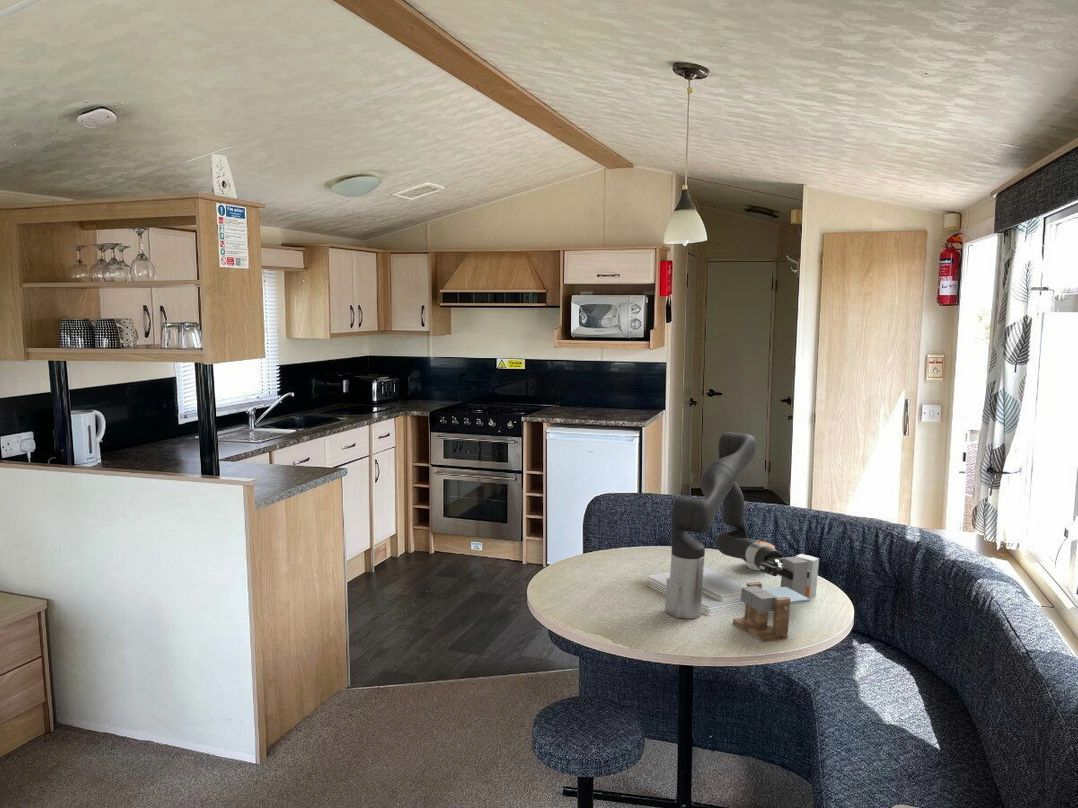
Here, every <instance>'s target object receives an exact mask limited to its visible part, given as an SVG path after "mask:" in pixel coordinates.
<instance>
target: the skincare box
mask: <svg viewBox="0 0 1078 808" xmlns="http://www.w3.org/2000/svg"><path fill="white" fill-rule="evenodd" d="M794 557H799V558H801V559H803V560H805V561H808V571H809V572H810V574H809V578H807V582H806V593H805V595H803V596H805V597H807V598H809V599H810V600H811V598H813V597H816V595H817V586H818V574H819V566H820V565H819V564H820V558H819V557H815V556H813V555H808V554H807V555H806V554H805V553H799V554H797V555H795V556H794Z"/></svg>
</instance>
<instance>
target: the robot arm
mask: <svg viewBox="0 0 1078 808" xmlns="http://www.w3.org/2000/svg"><path fill="white" fill-rule="evenodd" d="M717 445H718V451H717V452H718V454H717V455H718V458H717V459H716V460H714V461H713V462H711V463H710V464H708V466H707V467H706V468H705V470H704V471H703V473H702V475H701V477H700V480H699V485H700V489H701V492H702V495H703V496H704V498H705V499H698V498H692V497H686V496H679V497H677V498H675V500H674V501H673V504H672V507H671V514H670V515H671V517H670V519H671V520H670V521H671V523H670V524H671V526H670V527H671V528H670V529H671V531H670V532H671V533H670V546H671V547H670V548H671V551H670V552H671V553H670V554H671V555H670V567H669V568H670V570H669V572H670V573H669V577H668V578H667V579H666V586H665V587H666V588H665V589H666V591H665V603H664V604H665V608H664V611H665V612H667V614H670V615H671V616H672V617H674V618H675V619H680V618H681V619H688V620H689V619H697V618H699V617H700V616H701V615H702V601H703V584H704V570H705V569H704V568H705V567H704V566H705V554H706V548H705V545H704V544H703V543H702V542H700V541H698V540H697V539H695V538H694V537H693V536H692V535H690V534H689V532H691V533H696V534H703V533H706V532H707V531H708V530H709V529H710V528H711V526H712V524H713V522H714V519H715V518H716V515H717V513H718V512H719V509H720V507H721V506H722V507H721V521H722V523H723V524H724V525H726V526H731V527H732V530H731V531H729V530H728V531H723V532H720V533H719V534H717V536H716V537H715V543H714V544H715V548H716V549H717V550H718V551H719V552H720V553H721V554H722V555H725V556H727V557H732V558H735V559H741V560H742V561H743V562H744V561H746V562H748V563H750V564H751V565H753V566H754V567H756V568H758V569H760V570H759V571H760V572H762V573H765V574H767V575H770V576H773V577H777V576H779V577H780V578H781V577H782V576H784V577H786V578H787V579H789V580H793V579H794V573H793V572H791V571H789V570H787V569H784V567H782V565H783V558H784V557H783V554H782V553H781V552H780V551H779V550H777V549H776V548H775V549H773V548H771V547H769V546H767V545H764V544H761V543H758V542H756V541H757V540H754V539H751V538H749V535H748V531H747V527H746V521H745V496H744V493H743V492H742V489H741V487H740V486H739V484H738V482H737V479H738V477H740V475H741V473H742V472H743V471H744V470H745V468H747V466H748V465H749V464H750V463H751V461H752V460H753V459H754V456H755V454H756V451H757V441H756V438H755V437H754V436H753V435H751V434H748V433H742V432H741V433H738V432H731V431H725V432H723V433H721V435H720V437H719V440H718V444H717ZM809 574H810V572H809V571H808V572H807V578H809Z"/></svg>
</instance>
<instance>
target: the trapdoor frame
mask: <svg viewBox="0 0 1078 808" xmlns="http://www.w3.org/2000/svg"><path fill="white" fill-rule="evenodd" d="M750 586H758V587H760V588H761V589H763V582H760V581H756V582H747V583H746V587H750ZM744 604H745V603H744ZM790 607H791V604H790V598H788V597H782V598H775V600H774V611H773V614H772V616H773V617H772V627H771V626H770V625H768V619H769V612H764V613H761V612H759V611H757V610H756V609H754V608H752V607H750V606H749V605H747V604H745V605H744V617H736V618H732V623H733V624H734V625H736V627H739V628H740V629H742V630H743V631H745V632H747V634H749V635H751V636H752V637H754V638H756V639H757V640H759V641H760V642H762V643H765V642H766V643H767V642H772V641H773V642H774V641H780V640H786V639H787V640H788V636H789V635H788V634H789V623H790V622H789V621H790Z"/></svg>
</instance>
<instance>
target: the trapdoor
mask: <svg viewBox="0 0 1078 808" xmlns="http://www.w3.org/2000/svg"><path fill="white" fill-rule="evenodd" d="M782 597H788V598H790V605H796V604H802V603H803V604H804V603H810V601H811V598H810V599H809V598H807V597H805V596H803V595H801V594H799V593H797V592H795V591H793V590H791V589H789V588H787V587H781V586H779V587H771V588H762V589H761V588H760V587H758V586H750V587H747V586H744V587H742V586H741V594H740V602H742V603H744V604H747V605H749V606H750V607H752V608H754V609H756V610H757V611H759V612H761V613H764V612H768V613H770V612H774V600H775V598H782Z"/></svg>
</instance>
